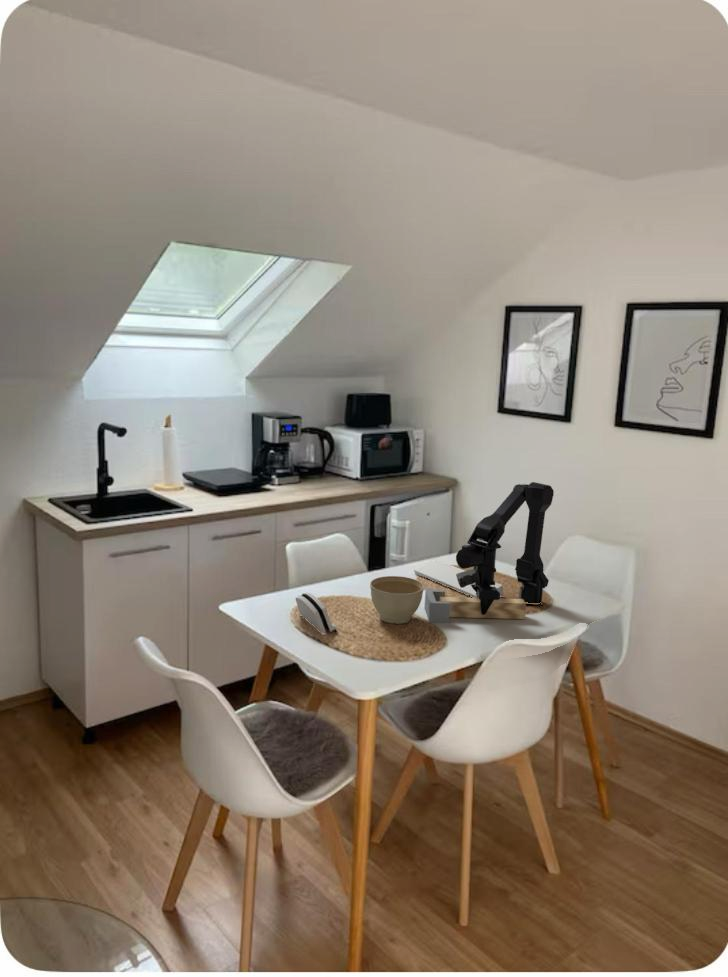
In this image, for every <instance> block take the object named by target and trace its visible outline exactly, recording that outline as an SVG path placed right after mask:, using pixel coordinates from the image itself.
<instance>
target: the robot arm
mask: <svg viewBox="0 0 728 977" xmlns="http://www.w3.org/2000/svg"><path fill="white" fill-rule="evenodd" d="M554 492H555V491H554V489H553V487H552V485H550V484H549V485H548V484H544V483H541V482H535V481H532V482H530V483H529V484H525V483H522V484H520V483H518V484H516V485H514V486H513V488H512V491H511V492H510V493H509V494H508V496H507V497H506V498H505V499H504V501H502V503H501V504H500V505H499V506H498V507H497V508H496V510H495V511H494V512H493V513H492V514H491V515H488V516H485V517H484V518H483V519H482V520H480V521H479V522H478V523H477V524H476V526H475V527H474V529H473V531H472V533H471V534H470V537H469V538H468V540H467V542H466V543H467V545H466V544H464V545H462V546H461V549H459V551H457V552H456V555H455V562H456V564H457V566H459V567H458V568H460V569H462V570H464V572H461V573H458V574H456V576H457V580H458V583H459V585H460V587H461V588H463V587H465V586H467V585H471V584H472V585H471V586H472V588H473V589H474V590H475V591H476V595H477V598H479V599H480V605H481V614H482V615H485V614H486V612H487V611H488V609H489V607H490V605H491V604H492V602H493V601H494V600H499V599H500V592H499V591H498V589H497V588H496V587H491V585H495V582H496V581H495V573H497V568H496V558H497V550H498V549H501V548H502V546H501V544H500V543H498V542H499V541H500V540H501V538H502V537H503V535H504V533H505V529H506V525H507V523H508V522H509V521H510V520H511V519H512V517H513V516H514V515H515V514H516V513H517V512H518V510H519V509H520V508H521V507H522V505H523V504H524V503H526V506H527V508H528V511H529V512H528V518H527V524H526V526H527V528H526V535H525V542H524V550H523V554H522V555H521V556H520V557H519V558H517V559H516V561H515V562H516V564H515V569H514V570H515V574H516V580H517V582H518V583H521V586H520V587H519V592H518V593H519V596H518V599H523V600H524V601H525V602H528V603H540V602H541V603H542V604H543V605H544V603H543V590H544V589H546V587H548V584H549V581H550V580H549V578H548V576H546V574H545V573H544V563H543V560H542V557H541V549H542V540H543V533H544V532H543V530H544V524H545V516H546V511H547V510H548V509H549V508H550V506H551V505H552V504H553V499H554ZM469 568H472V569H469ZM465 569H468V570H465ZM541 603H540V604H541Z"/></svg>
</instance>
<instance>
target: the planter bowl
mask: <svg viewBox="0 0 728 977" xmlns="http://www.w3.org/2000/svg"><path fill="white" fill-rule="evenodd" d="M369 587H370V597H371V601H372V604H373V606H374V609H375V610H376V612H377V613H378V616H379V619H380V620H381V621H383V622H385V623H388V624H394V623H395V624H396V625H398V624H401V625H402V624H407V623H409V622H410V621H411V620H412V616H413V615H414V614H415V613H417V612H416V611H417V610H418V609H419V607H420V606H421V605H420V604H421V603H422V599H423V592H424V591H425V586H424V584H423V583H422V582H421V581H420V580H417V579H415V578H412V577H407V576H400V575H399V576H398V575H396V576H395V575H388V576H387V575H385V576H380V577H377V578H373V579H372V580H371V581H370V583H369ZM395 624H394V625H395Z"/></svg>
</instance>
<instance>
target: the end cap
mask: <svg viewBox="0 0 728 977" xmlns="http://www.w3.org/2000/svg"><path fill="white" fill-rule="evenodd" d="M424 591H425V593H424V595H425V596H424V610H425V614H426V617H427V620H428V622H429V623H450V617H449V613H450V602H440V601H439V600H440V597H446V590H445V589H424Z"/></svg>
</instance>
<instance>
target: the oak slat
mask: <svg viewBox="0 0 728 977" xmlns="http://www.w3.org/2000/svg"><path fill="white" fill-rule="evenodd" d="M439 601H440V602H450V613H449V618H472V619H473V618H477V619H507V620H508V619H510V620H511V619H513V620H514V619H516V620H525V619H526V618H525V617H526V608H527V605H526V603H525V601H524V600H523V599H519V598H505V597H503V598H500V599H499V600H494V601H493V602H492V604H491V605H490V607H489V609H488V611H487V612H486V614H485V615H482V614H481V605H480V599H479V598H471V597H468V596H467V597H465V596H464V597H462V596H459V597H458V596H445V597H440V600H439Z"/></svg>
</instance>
